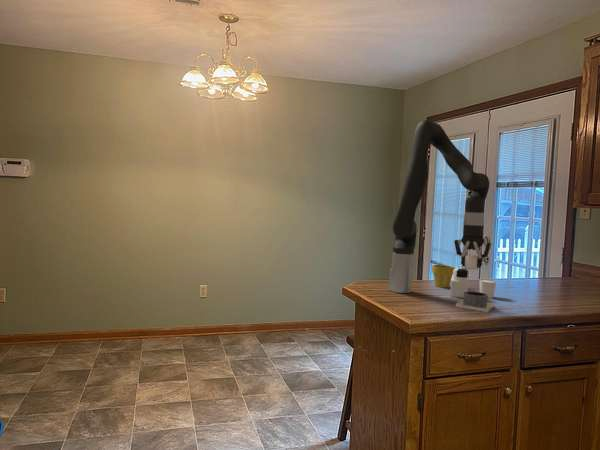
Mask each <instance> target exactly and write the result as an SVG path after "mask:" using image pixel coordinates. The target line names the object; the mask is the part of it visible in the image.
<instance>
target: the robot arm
mask: <svg viewBox="0 0 600 450" xmlns="http://www.w3.org/2000/svg"><path fill="white" fill-rule="evenodd" d="M429 145H431V146H432V147H434V148H435V149H436V150H438V152H440V153H441V155H442V156H443V159H444V162H445V164H447V166H448V167H449V168H450V169H451V170H452V171H453V172H454V174H456V176H457V178H458V180H459V182H460V184H461V186H463V187H464V188H465V189H466V190H467V191H469V192H470V191H471V194H470V196H469V197H467V198H466V200H465V205H464V216H463V224H462V225H463V228H462V229H463V230H462V238H461V239H455V240H454V241H453V242H454V247H455V251H456V255H457V256H460V258H461V259H460V260H461V261H460V264H461V265H462V267H465V255H468V254H467V253H468V251H469V250H473V251H475V252H476V254H477V255H476V256H478V262H477V268H478V269H481V267H482V266H483V259H484V258H487V257H488V255H489V253H490V250H491V247H492V242H490V241H485V239H484V234H485V233H484V232H485V230H484V229H485V203H486V199H487V196H488V192H489V189H490V180H489V177H488V176H487V175H486V174H485V173H480V172H475V171H474V170H473V164H472V163H471V162H470V160H469V159H467V157H466V156H465V155H464V154H463V153H462V152H461V151H460V150H459V149H458V148H457V147H456V146H455V144H454V143H453V142H452V141H451V139H450V138H449V136H448V134H447V133H446V131H445V130H444V128H443V127H442V126H441V125H440V124H439V123H437V122H434V121H431V120H427V119H425V120H424V119H423V120H421V121H420V122H419V123H418V124H417V126H416V128H415V131H414V137H413V143H412V150H411V155H410V159H409V164H408V167H407V168H408V169H407V172H406V176H405V180H404V183H403V189H402V193H401V199H400V203H399V206H398V210H397V213H396V215H395V218H394V221H393V223H392V232H393V234H394V235H395V237H394V238H395V239H394V244H393V246H392V258H391V268H390V269H389V274H388V275H389V276H388V291H390V292H393V293H399V294H410V293H411V292H412V285H413V270H414V253H415V249H416V244H417V241H416V240H417V232H418V231H417V230H418V228H417V227H418V226H417V223H416V221H415V215H416V212H417V209H418V205H419V204H420V202H421V200H422V198H423V196H424V193H425V190H426V187H427V184H428V180H429V165H428V159H427V157H428V149H429ZM461 244H462V245H463V246H464V247H463V249H462V250H461ZM483 245H484V248H485V249H484V252H483V253H482V249H481V247H482V246H483Z"/></svg>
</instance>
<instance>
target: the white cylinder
mask: <svg viewBox="0 0 600 450" xmlns="http://www.w3.org/2000/svg"><path fill="white" fill-rule="evenodd" d="M496 284H497V282H496V281H493V280H489V279H479V285H478V286H479V292H481V293H485V294H487V295H488V299H493V298H494V296H495V295H494V294H495V289H496Z"/></svg>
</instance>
